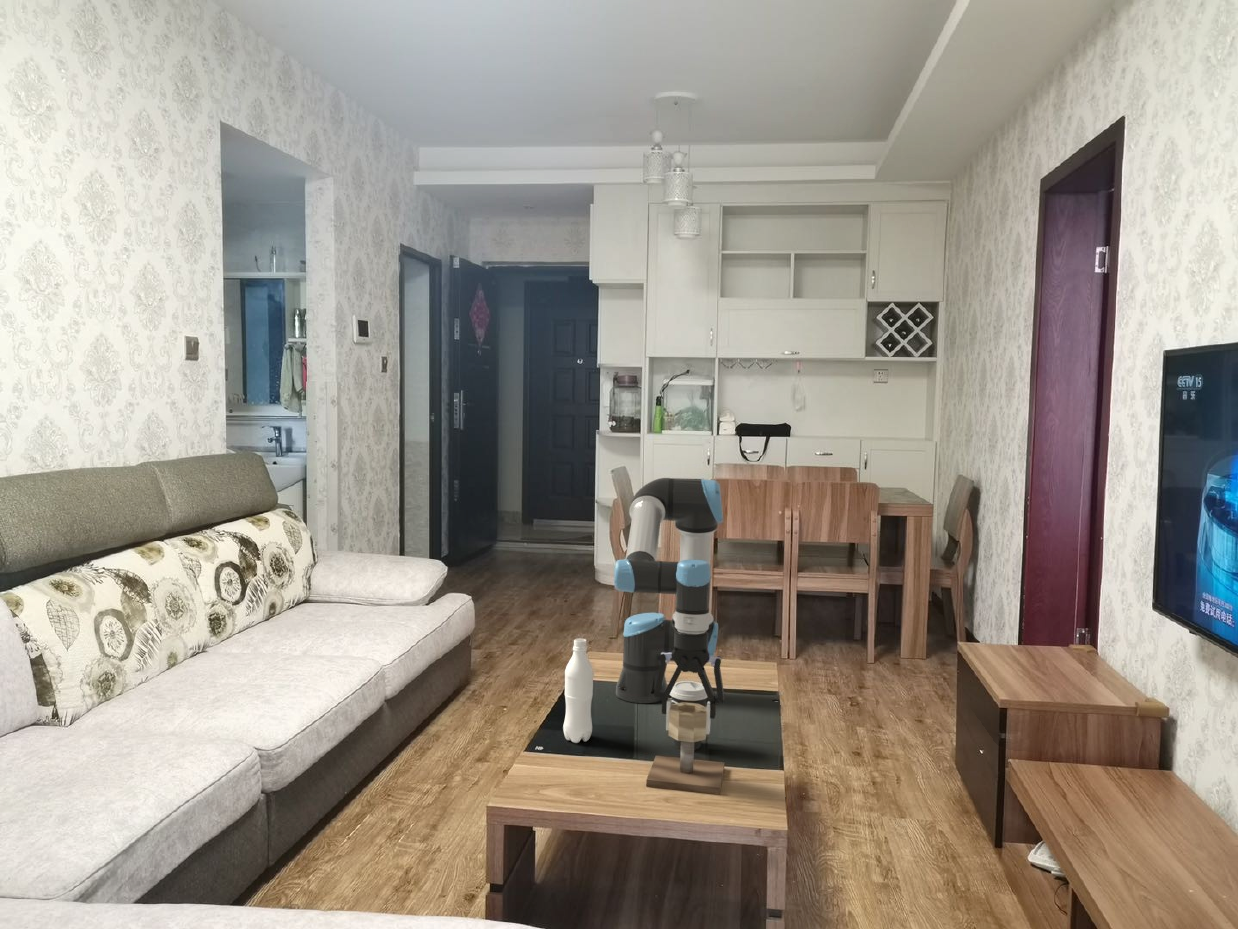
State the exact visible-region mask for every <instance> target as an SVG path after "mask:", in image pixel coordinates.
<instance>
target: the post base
mask: <svg viewBox="0 0 1238 929" xmlns="http://www.w3.org/2000/svg"><path fill="white" fill-rule="evenodd" d="M694 754H695V750H694V742H686V741H681V750H680V754H679V755H680V757H676V756H675V757H672V756H666V755H665V756H664V755H655V757H654V759H653V763H652V764H651V767H650V770H649V772H648V776H647V778H646V784H645V785H646V787H650V788H659V789H667V790H676V791H685V792H695V793H704V794H713V795H721V788H722V783H723V779H724V778H723V777H724V772H725V762H722V761H712V760H705V759H704V760H702V759H694V758H695V755H694Z"/></svg>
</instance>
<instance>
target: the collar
mask: <svg viewBox="0 0 1238 929" xmlns="http://www.w3.org/2000/svg"><path fill="white" fill-rule="evenodd" d="M706 711H707V706H705V707H704V706H702V705H700V704H696V703H686V702H682V703H677V704H671V707H670V713H669V730H668V737H671V738H672V739H673V740H674V739H676V740H678V741H686V742H697V741H701V742H702V741H705V740H706V738H707V735H708V734H706V715H707V712H706Z"/></svg>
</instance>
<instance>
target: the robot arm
mask: <svg viewBox="0 0 1238 929" xmlns="http://www.w3.org/2000/svg"><path fill="white" fill-rule="evenodd" d="M721 494H722V493H721V485H720V482H718V481H717V480H715V479H705V478H678V477H677V478H676V477H675V478H673V477H672V478H670V477H661V478H657V479H654V480H651V481H650V482H648V483H646V484H645V485H643V486H641V488H639V490H638V491H637V492H636V493H635V494H634V496H633V497H632V499H631V501H630V504H629V510H628V511H629V512H628V514H629V517H630V519H631V520H630V522H631V524H630V528H629V533H628V534H629V535H628V539H627V540H628V541H627V547H626V554H625V558H624V559H618V560H616V561H615V564H614V578H613V581H614V583H613V584H614V589H615V590H616V591H619V592H627V593H630V594H632V593H640V594H643V593H645V594H662V595H663V594H668V595H675V611H674V613H673V614H672V616H671V618H672V619H666V616H665V615H664V614H663V613H661V612H660V613H658V612H643V613H638V614H634V615H631V616H629V617H627V618H626V620H625V621H624V627H623V633H622V636H623V647H622V648H623V649H622V650H623V651H622V652H623V654H622V658H623V659H622V669H621V672H620V674H619V677H618V681H617V682H616V686H615V695H616V697H617V698H618V699H620V700H622V701H624V702H625V701H626V702H630V703H636V704H653V703H654V704H655V703H659V702H661V714H662V715H665V716H666V717H665V731H669V713H670V707H671V705H672V698H671V697H669V696H670V692H671V691H672V689H673V687H674V685H675V683H676V682H678V681H677V680H678V678H679V676H680V675H681V673H682V672H683V673H689V672H690V673H693V674H694V673H695V674H697V675H698V676H697V677H699V680H700V683H702V684H703V687H704V689H705V692H706V694H707V699H708V700H709V701H707V702H706V708H707V711H706V712H707V715H706V734H707V735H710V734H711V720H713V719H715V718H716V714H717V705H718V704H723V703H724V702H725V691H724V690H725V689H724V685H723V684H724V683H723V676H722V670H721V665H722V664H721V663H722V657H721V656H720V655H717V656H715V654H716V647H717V642H718V634H719V623H718V622H715V621H714V616H713V614H712V613H711V612H710V599H711V598H710V596H711V594H710V593H711V580H712V573H711V560H712V559H711V557H712V556H711V555H712V538H713V537H712V536H713V533H715V532H716V531H717V530H718V524H721V523H723V522H724V516H723V506H722V495H721ZM663 521H669V522H670V521H672V522H674V528H675V529H676V530H677V531H678V532H679V533H680V534H679V535H680V536H679V538H680V539H679V540H680V541H679V561H663V560H658V554H659V552H658V551H659V542H660V541H659V539H660V532H661V530H660V529H661V523H663ZM669 662H674V663H675V664H676V666H677V667H676V669H675V671H674V672H673V675H672V677H671V678H670V680H669V682H667V679H666V678H667V677H666V670H667V665H668V664H669ZM707 663H710V665H711V667H712V668H713V672H714V673H713V674H714V680H715V681H714V682H715V688H716V694H715V692H714V690H713V687H712V685H711V682H710V680H709V678H708V675H707V672H706V669H705V666H706V664H707Z"/></svg>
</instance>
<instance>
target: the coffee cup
mask: <svg viewBox="0 0 1238 929" xmlns="http://www.w3.org/2000/svg"><path fill="white" fill-rule="evenodd" d="M669 696H671V697H670V698H672V704H677V703H682V702H686V703H696V704H700V705H702V706H704V707H706V705H707V702H706V701H707V699H708V697H707V694H706V692H705V689H704V687H703V684H702V682H699V681H693V680H683V681H682V680H680V681H676V683H675V685H674V687H673V689H672V691H671V692H670V694H669ZM672 704H671V705H672ZM701 743H702V740H701V741H697V742H694V751H697V750H699V749H700V748H701ZM673 746H674V747H675V748H676V749H678V750H680V751H681V741H678V740H676V739H674V738H673Z"/></svg>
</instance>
